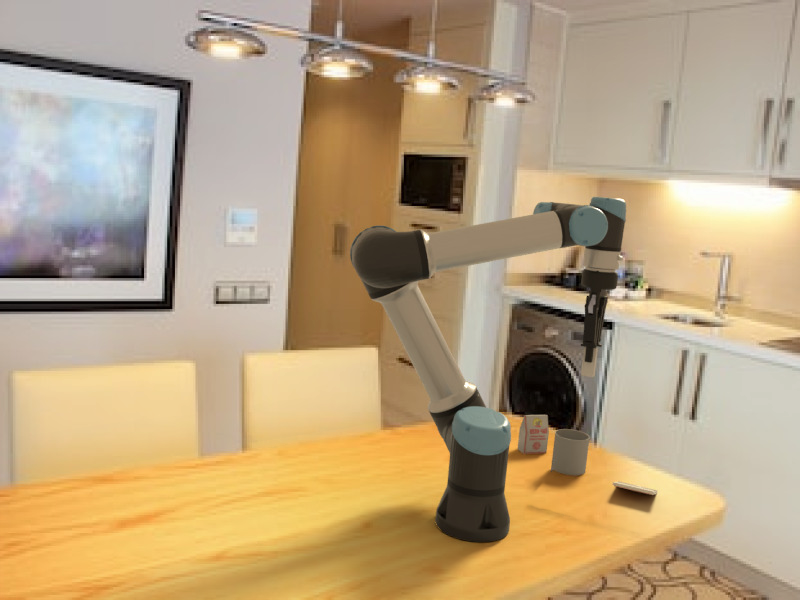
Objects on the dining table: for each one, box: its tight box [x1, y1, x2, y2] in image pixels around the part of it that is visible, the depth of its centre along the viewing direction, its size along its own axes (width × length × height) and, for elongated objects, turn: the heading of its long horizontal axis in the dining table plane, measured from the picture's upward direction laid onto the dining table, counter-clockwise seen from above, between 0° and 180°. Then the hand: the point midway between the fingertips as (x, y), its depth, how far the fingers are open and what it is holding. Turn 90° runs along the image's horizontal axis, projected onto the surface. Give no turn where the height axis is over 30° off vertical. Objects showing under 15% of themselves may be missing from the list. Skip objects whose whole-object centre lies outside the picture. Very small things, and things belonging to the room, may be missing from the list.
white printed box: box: [517, 414, 550, 455], centre depth 200 cm, size 4×7×10 cm, turn 107°
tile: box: [612, 481, 658, 496], centre depth 174 cm, size 10×9×1 cm
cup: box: [550, 428, 590, 476], centre depth 187 cm, size 8×8×10 cm
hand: (587, 375), depth 165 cm, fingers closed
